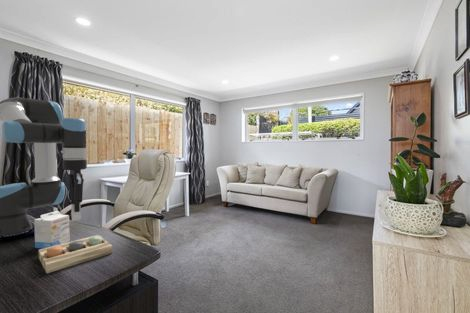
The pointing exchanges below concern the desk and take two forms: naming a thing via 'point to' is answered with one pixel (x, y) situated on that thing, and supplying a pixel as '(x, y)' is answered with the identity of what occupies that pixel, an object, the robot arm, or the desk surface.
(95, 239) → the sage button
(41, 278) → the desk surface
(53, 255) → the orange button
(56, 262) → the panel
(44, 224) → the ink box
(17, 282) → the desk surface
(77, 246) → the charcoal button
